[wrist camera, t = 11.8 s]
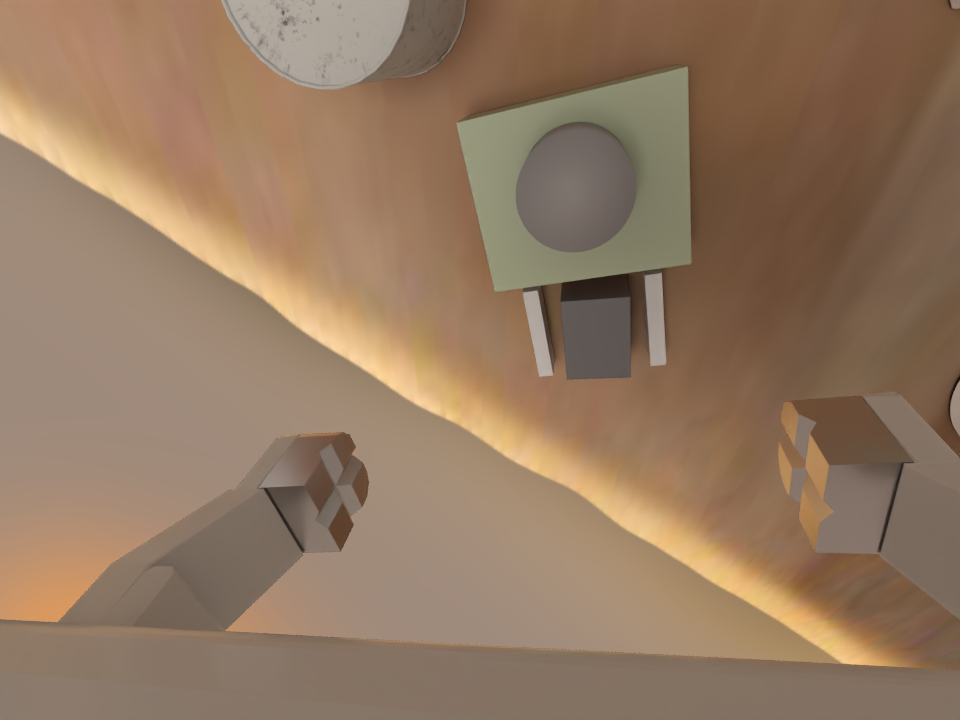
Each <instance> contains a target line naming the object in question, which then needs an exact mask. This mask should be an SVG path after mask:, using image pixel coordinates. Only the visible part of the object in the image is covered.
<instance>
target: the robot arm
mask: <svg viewBox="0 0 960 720" xmlns="http://www.w3.org/2000/svg"><path fill="white" fill-rule="evenodd" d="M950 416H951V421H952V424H953V426H954V428H955V430H956V432H957V433H958V435H959V436H960V381H959V382H958V384H957V386H956V388H955V390H954V393H953V396H952V400H951V405H950ZM781 422H782V424H783V426H784V428H785V430H786V432H787V434H786V435H785V436H784V437H783V438H782V439H781V440H780V441H779V451H778V459H779V467H780V474H781V477H782V480H783V484H784V486H785V488H786V491H787V493H788V495H789V497H790V498H792V499H793V500H795V501H796V502H798V503H799V504H800V513H799V519H800V521H801V524H802V526H803V528H804V530H805V532H806V534H807V536H808V538H809V541H810V543H811V545H812V547H813V549H814V551H815V552H819V553H859V554H880V557H881V558H882V559H883V560H884V561H886V562H887V563H888V564H890V565H891V566H892V567H893V568H895V569H896V570H897V571H898V572H900V573H901V574H902V575H904V576H905V577H906V578H907V579H909V580H910V581H911V582H912V583H914V584H915V585H916V586H918V587H919V588H920V589H921V590H923V591H924V592H925V593H926V594H928V595H929V596H930V597H932V598H933V599H934V600H935V601H937V602H938V603H939V604H940V605H942V606H943V607H944V608H946V609H947V610H948V611H949V612H951V613H952V614H953V615H954V616H956V617H957V618H958V619H960V458H959V457H958V456H957V455H956V453H955V452H954V451H953V450H952V449H951V448H950V447H949V446H948V445H947V444H946V443H945V442H944V441H943V440H942V439H941V437H940V436H939V435H938V434H937V433H936V432H935V431H934V430H933V429H932V428H931V427H930V426H929V425H928V424H927V422H926V421H925V420H924V419H923V418H922V417H921V416H920V415H919V414H918V413H917V412H916V411H915V410H914V409H913V408H912V406H911V405H910V404H909V403H908V402H907V401H906V400H905V399H904V398H903V397H902V396H901V395H900V394H898V393H895V392H893V391H892V392H881V393H870V394H860V395H855V396H848V397H835V398H821V399H808V400H795V401H785V403H784V406H783V408H782V416H781ZM355 448H356V446H355V444H354V443H353V440H352V438H351V437H350V435H349V434H346V433H344V432H336V433H314V434H302V435H300V434H298V435H283V436H281V437H279V438H276V439H275V440H274V442H273V443H272V444H271V445H270V447H269V448H268V449H267V450H266V452H265V453H264V454H263V455H262V457H261V458H260V459H259V460H258V462H257V463H256V464H255V465H254V467H253V468H252V469H251V470H250V472H249V473H248V474H247V475H246V477H245V478H244V479H243V480H242V482H241V483H240V484H239V485H238V487H237V488H236V489H235V490H228V491H226V492H225V493H223V494H222V495H220V496H218V497H217V498H215V499H214V500H212V501H210V502H209V503H207V504H206V505H204V506H202V507H201V508H199V509H198V510H196V511H194V512H193V513H191V514H190V515H188V516H186V517H185V518H184V519H182V520H180V521H179V522H177V523H176V524H174V525H173V526H171V527H169V528H168V529H166V530H164V531H163V532H161V533H159V534H158V535H156V536H155V537H153V538H151V539H150V540H148V541H147V542H145V543H144V544H142V545H140V546H139V547H137V548H136V549H134V550H132V551H131V552H129V553H128V554H126V555H124V556H123V557H121V558H120V559H118V560H116V561H115V562H113V563H112V564H111V565H110V566H109V567H108V568H107V569H106V570H105V571H104V572H103V573H102V575H101V576H100V577H99V578H98V579H97V580H96V581H95V582H94V583H93V584H92V585H91V586H90V588H89V589H88V590H87V591H86V592H85V593H84V594H83V595H82V596H81V597H80V599H78V601H77V602H76V603H75V604H74V605H73V606H72V607H71V608H70V609H69V610H68V612H67V613H66V614H65V615H64V616H63V617H62V618H61V619H60V620H59V621H58V622H40V621H39V622H38V621H21V620H2V619H0V720H960V670H945V669H926V668H907V667H888V666H869V665H850V664H832V663H813V662H794V661H793V662H792V661H774V660H755V659H736V658H718V657H700V656H699V657H698V656H681V655H662V654H643V653H624V652H603V651H586V650H567V649H547V648H527V647H509V646H490V645H470V644H451V643H432V642H431V643H430V642H413V641H393V640H377V639H359V638H341V637H322V636H302V635H286V634H268V633H267V634H266V633H248V632H229V631H228V632H227V631H225V630H226V629H227V628H228V627H229V626H230V625H231V624H232V623H233V622H235V620H237V619H238V618H239V617H240V616H241V615H242V614H243V613H244V612H245V611H246V610H247V609H248V608H249V607H250V606H251V605H252V604H253V603H254V602H255V601H256V600H257V599H258V598H259V597H260V596H262V595H263V594H264V593H265V592H266V591H267V590H268V589H269V588H270V587H271V586H272V585H273V584H274V583H275V582H276V581H277V580H278V579H279V578H280V577H281V576H282V575H283V574H284V573H285V572H286V571H287V570H288V569H289V568H291V567H292V566H293V565H294V564H295V563H296V562H297V561H298V560H299V559H300V558H301V557H302V556H303V553H315V552H340V551H341V550H342V548H343V546H344V543H345V541H346V540H347V538H348V535H349V533H350V531H351V529H352V527H353V525H354V524H353V521H352V518H351V516H352V515H353V514H354V513H356V512H357V511H358V510H359V509H361V508H362V506H363V504H364V502H365V500H366V497H367V493H368V485H369V481H368V475H367V471H366V468H365V466H364V464H363V462H361V461H360V460H359V459H357V458H356V457H355V456H353V454H354V451H355Z"/></svg>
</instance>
